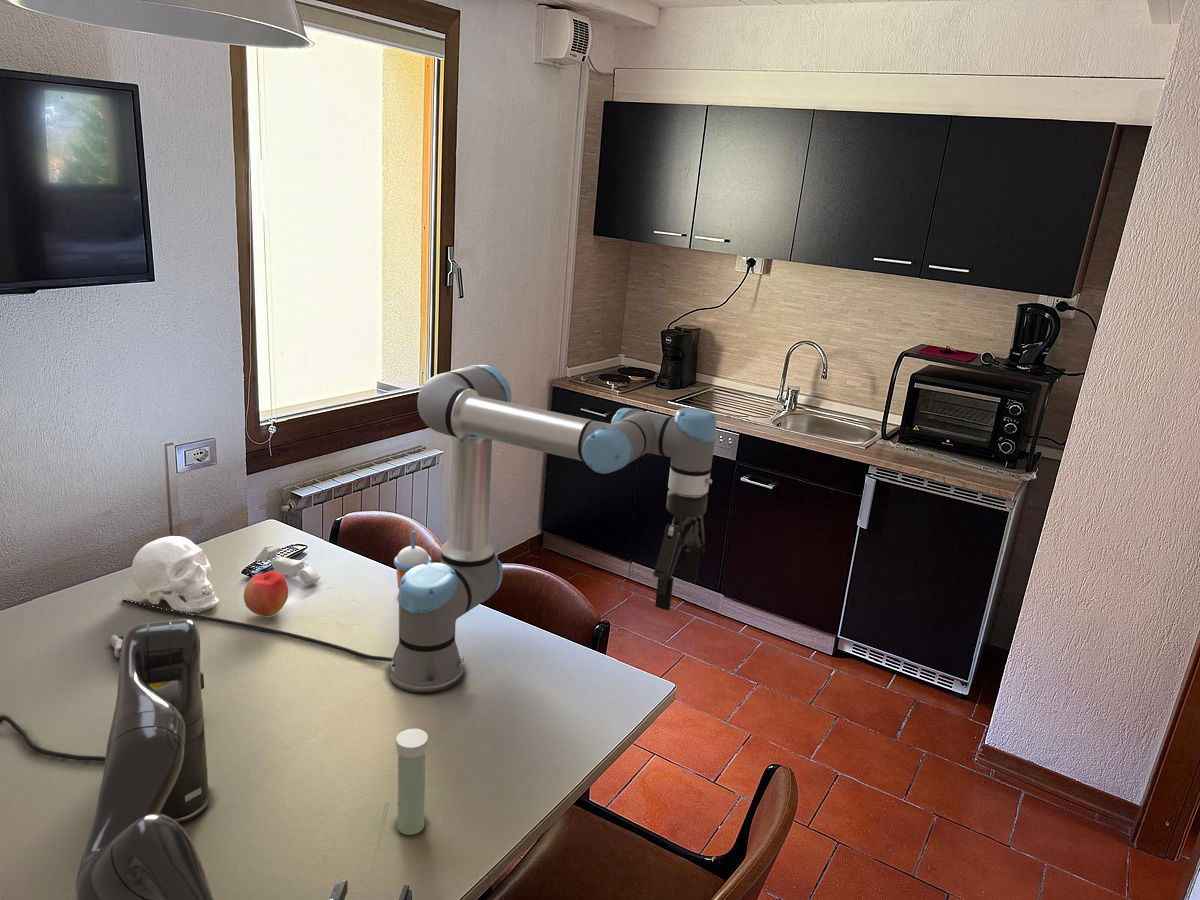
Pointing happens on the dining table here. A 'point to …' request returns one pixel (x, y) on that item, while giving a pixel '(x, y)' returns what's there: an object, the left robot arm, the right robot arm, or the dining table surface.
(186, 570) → the skull
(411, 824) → the pale green cylinder
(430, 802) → the dining table surface
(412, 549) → the cup with straw
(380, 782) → the dining table surface
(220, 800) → the dining table surface
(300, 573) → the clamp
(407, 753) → the lid
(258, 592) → the apple
